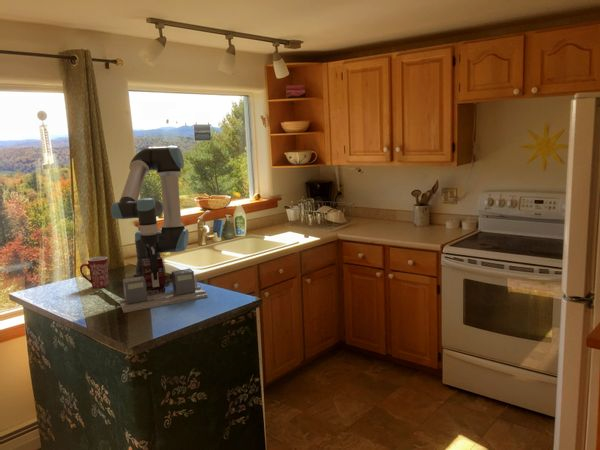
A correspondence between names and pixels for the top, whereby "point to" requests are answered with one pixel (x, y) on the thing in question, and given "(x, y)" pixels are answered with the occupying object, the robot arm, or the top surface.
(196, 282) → the block
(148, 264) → the supplement box
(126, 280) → the rail base
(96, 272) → the mug
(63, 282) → the top surface
